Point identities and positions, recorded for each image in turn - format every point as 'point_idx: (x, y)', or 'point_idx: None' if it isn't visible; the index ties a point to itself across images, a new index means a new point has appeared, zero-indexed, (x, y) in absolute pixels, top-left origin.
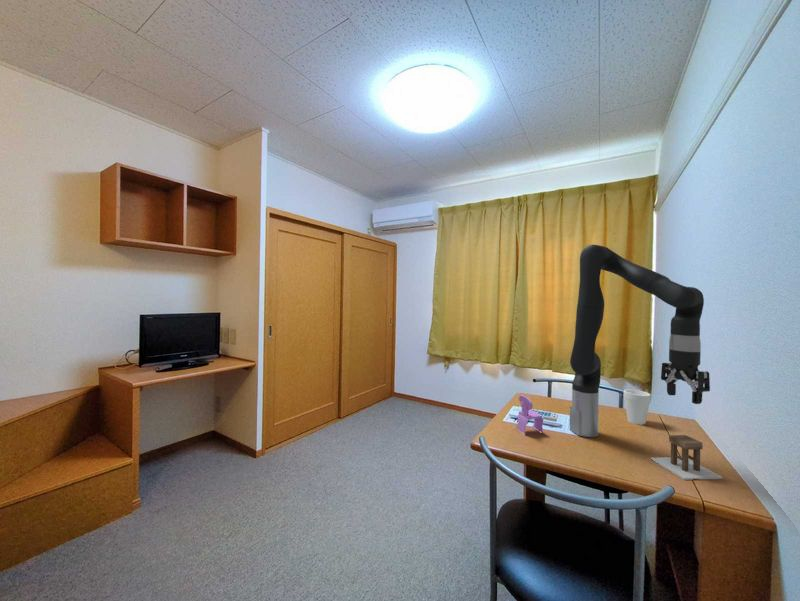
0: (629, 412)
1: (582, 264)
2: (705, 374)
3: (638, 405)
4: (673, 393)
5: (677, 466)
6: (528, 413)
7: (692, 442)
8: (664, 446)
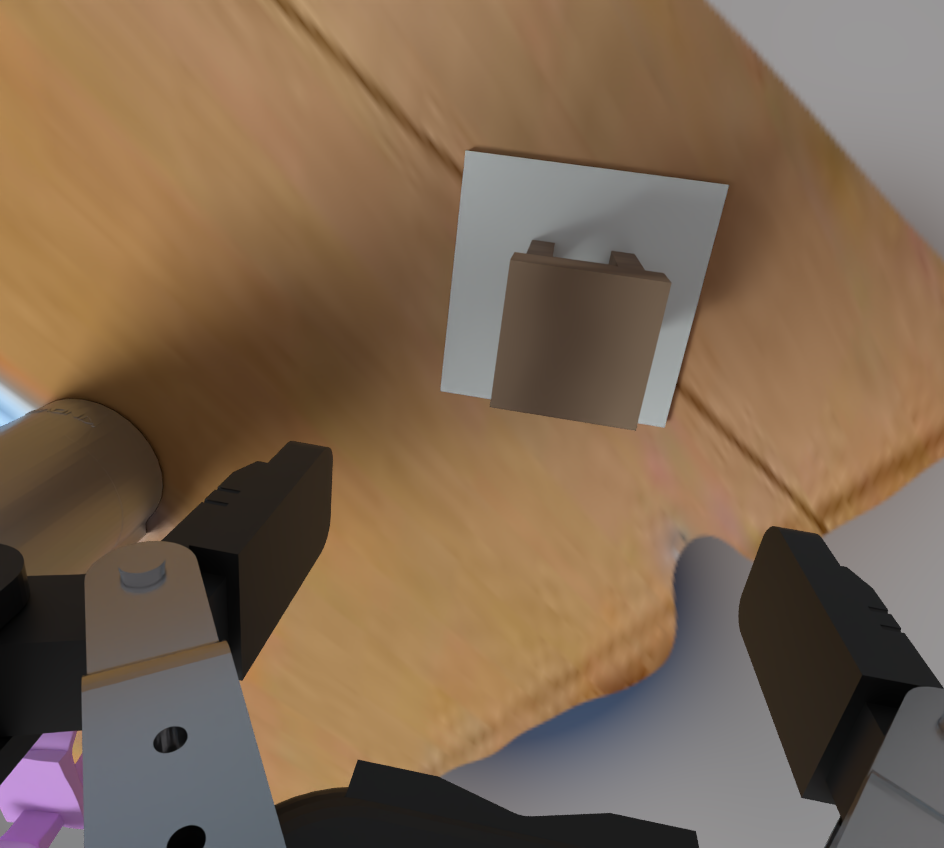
0: None
1: None
2: None
3: None
4: (319, 490)
5: None
6: (29, 797)
7: (641, 360)
8: (286, 102)
